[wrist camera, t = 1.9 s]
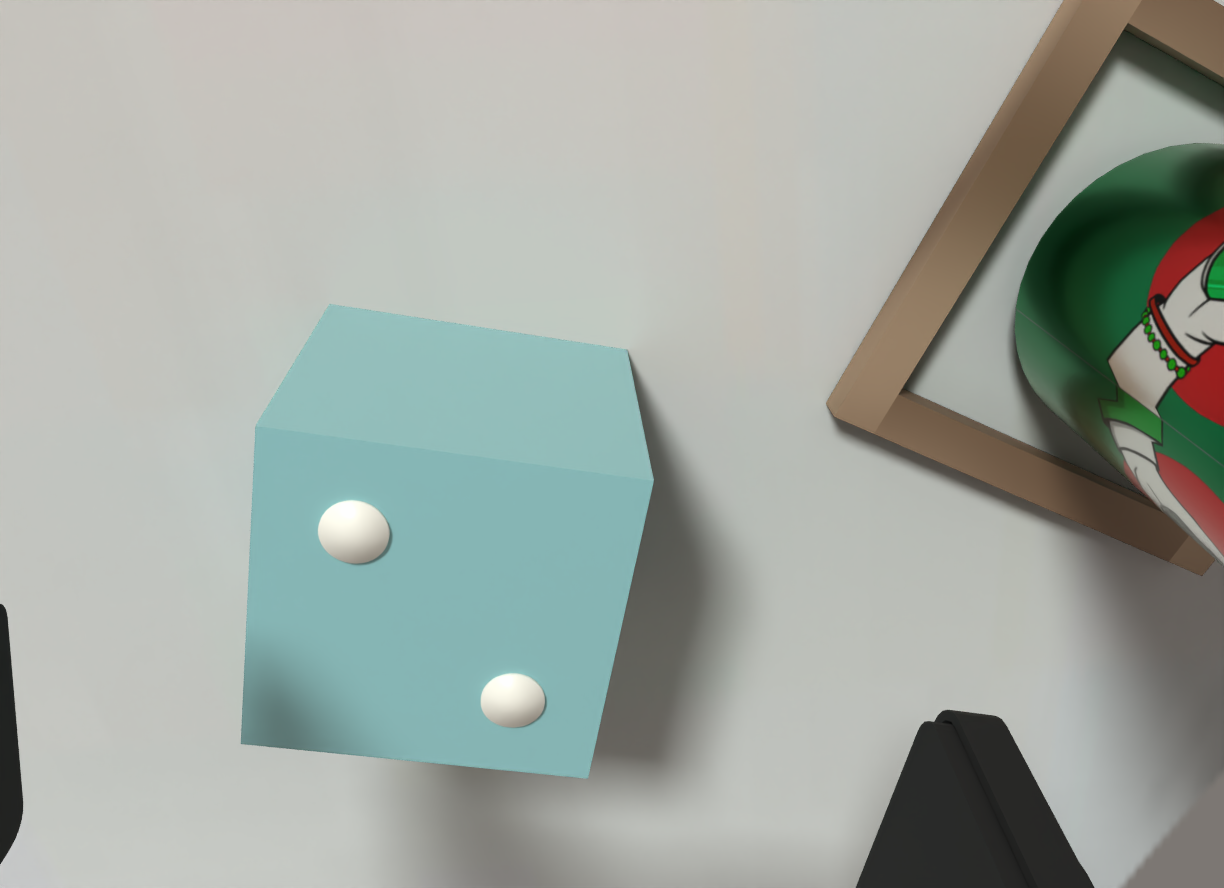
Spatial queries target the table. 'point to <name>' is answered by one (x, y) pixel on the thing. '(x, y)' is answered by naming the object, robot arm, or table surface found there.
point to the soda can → (1139, 328)
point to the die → (442, 544)
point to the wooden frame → (959, 238)
